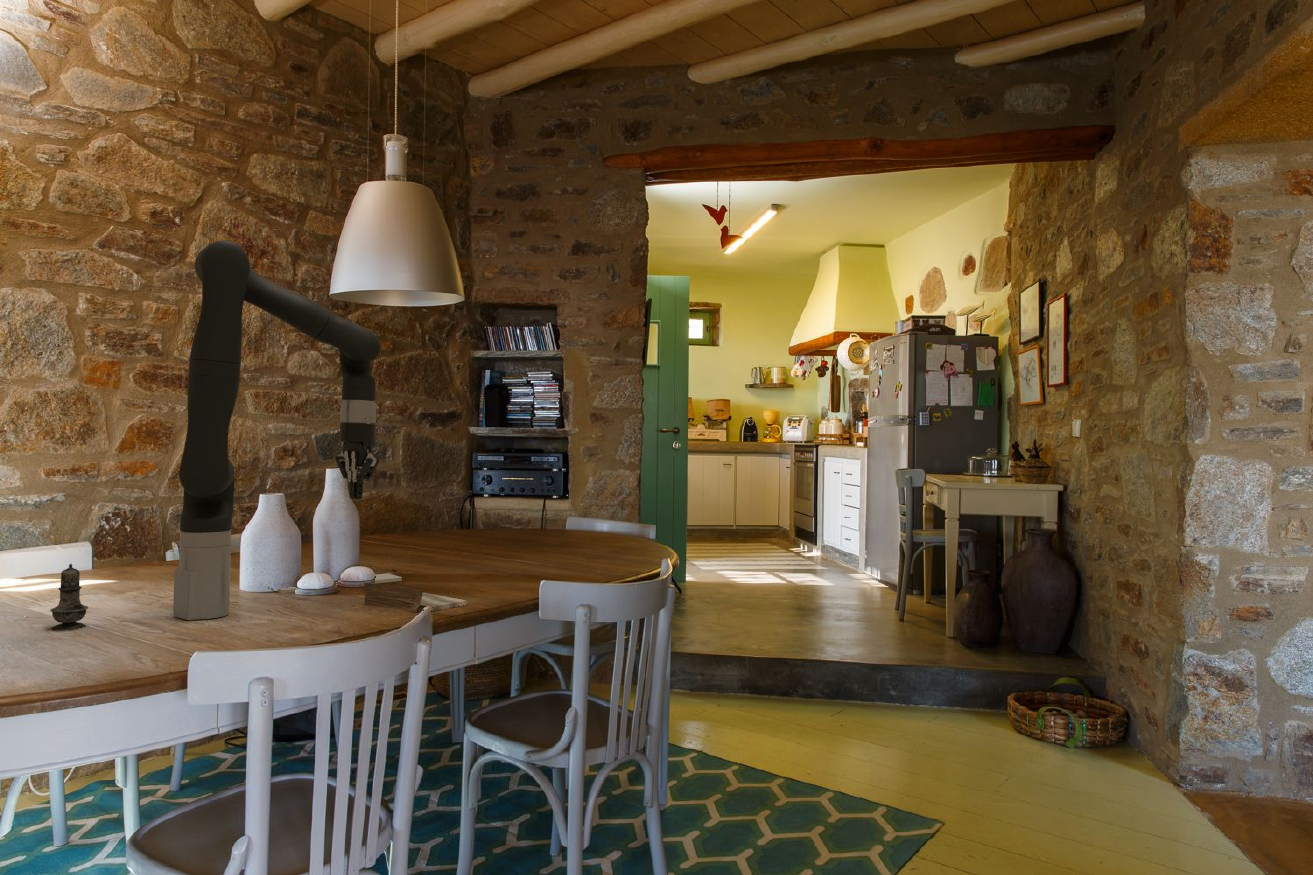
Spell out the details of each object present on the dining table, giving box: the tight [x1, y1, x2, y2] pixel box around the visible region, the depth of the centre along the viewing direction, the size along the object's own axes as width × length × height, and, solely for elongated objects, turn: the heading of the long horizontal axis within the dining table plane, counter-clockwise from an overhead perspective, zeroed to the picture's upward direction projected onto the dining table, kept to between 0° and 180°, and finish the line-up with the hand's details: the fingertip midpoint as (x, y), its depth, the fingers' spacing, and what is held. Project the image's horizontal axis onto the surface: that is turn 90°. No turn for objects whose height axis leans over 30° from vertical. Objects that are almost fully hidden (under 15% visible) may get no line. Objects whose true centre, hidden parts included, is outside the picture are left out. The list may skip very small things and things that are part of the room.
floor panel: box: [417, 592, 468, 612], centre depth 192 cm, size 10×20×1 cm, turn 56°
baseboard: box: [277, 569, 403, 594], centre depth 212 cm, size 30×3×10 cm
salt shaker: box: [49, 563, 89, 632], centre depth 160 cm, size 6×6×12 cm
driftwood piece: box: [363, 583, 424, 613], centre depth 185 cm, size 15×2×5 cm, turn 67°
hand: (355, 498), depth 191 cm, fingers closed
